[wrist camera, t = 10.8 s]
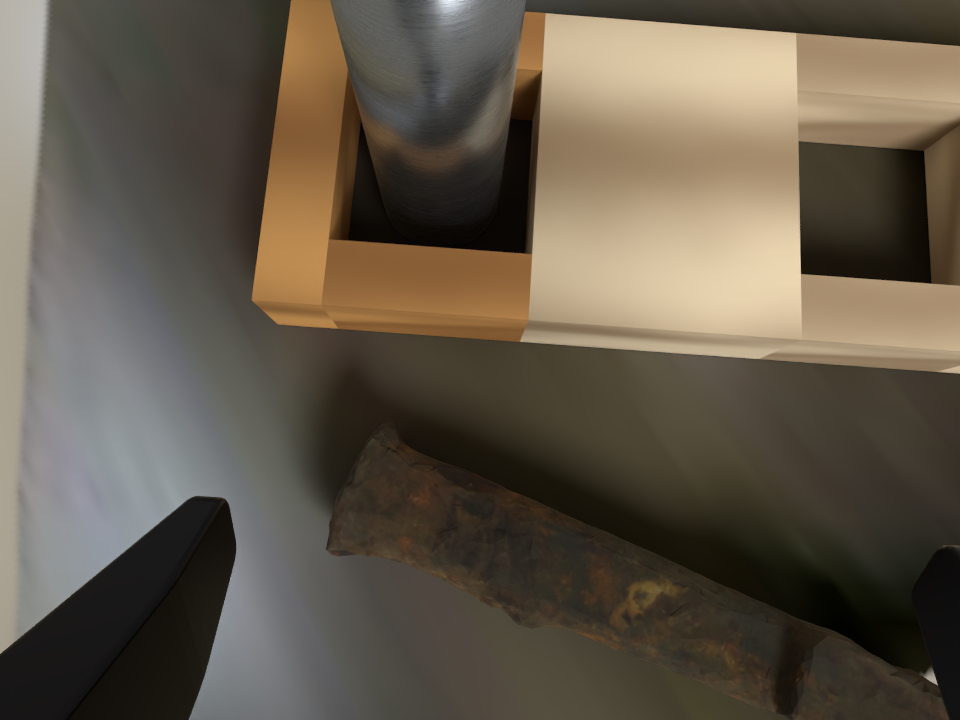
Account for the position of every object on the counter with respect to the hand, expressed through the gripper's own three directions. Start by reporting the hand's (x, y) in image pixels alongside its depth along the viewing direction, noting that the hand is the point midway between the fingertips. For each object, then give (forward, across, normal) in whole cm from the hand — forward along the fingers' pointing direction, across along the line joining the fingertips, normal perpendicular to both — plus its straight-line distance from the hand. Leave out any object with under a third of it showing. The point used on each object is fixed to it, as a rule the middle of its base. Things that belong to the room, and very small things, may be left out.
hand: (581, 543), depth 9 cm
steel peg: (+17, +3, +2) cm, 17 cm away
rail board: (+17, -5, +2) cm, 18 cm away
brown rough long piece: (+9, -4, +11) cm, 15 cm away
